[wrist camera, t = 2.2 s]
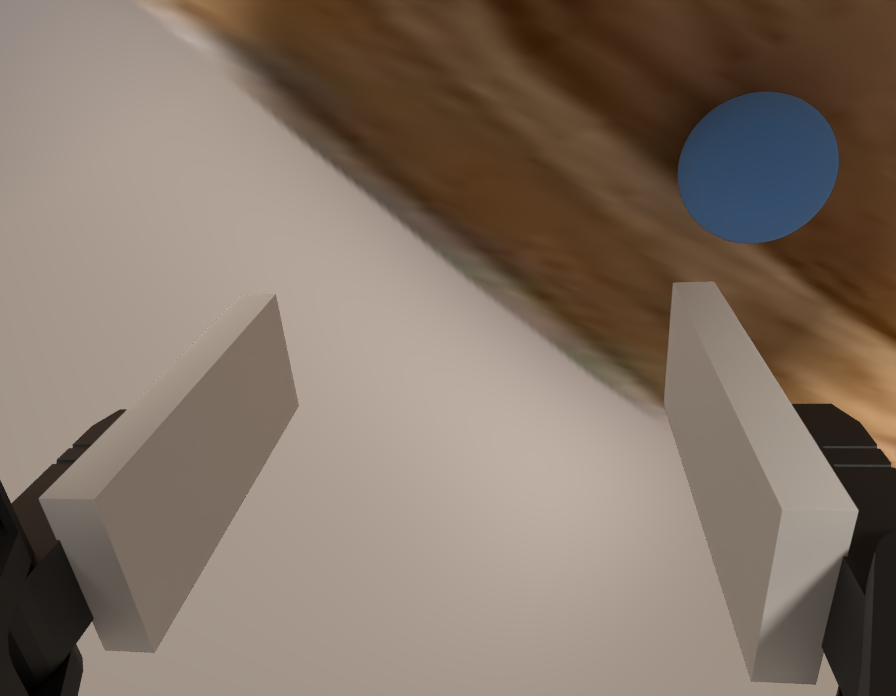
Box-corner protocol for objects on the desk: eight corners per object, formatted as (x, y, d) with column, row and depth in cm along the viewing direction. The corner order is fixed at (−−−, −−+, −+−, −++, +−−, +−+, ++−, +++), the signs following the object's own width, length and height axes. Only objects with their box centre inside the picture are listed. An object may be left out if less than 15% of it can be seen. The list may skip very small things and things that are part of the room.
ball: (644, 129, 28) (667, 157, 23) (779, 55, 26) (834, 67, 21) (697, 242, 30) (728, 289, 25) (826, 179, 28) (887, 217, 23)
